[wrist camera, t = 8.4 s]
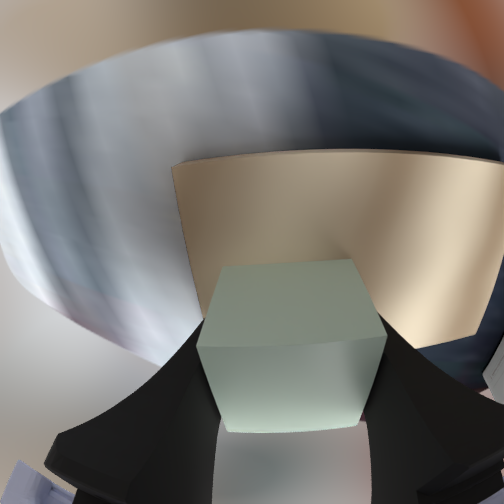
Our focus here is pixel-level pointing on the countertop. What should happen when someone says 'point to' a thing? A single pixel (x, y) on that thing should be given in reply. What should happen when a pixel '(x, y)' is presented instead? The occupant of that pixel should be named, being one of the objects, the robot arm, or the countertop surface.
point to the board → (356, 226)
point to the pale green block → (291, 346)
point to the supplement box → (496, 374)
